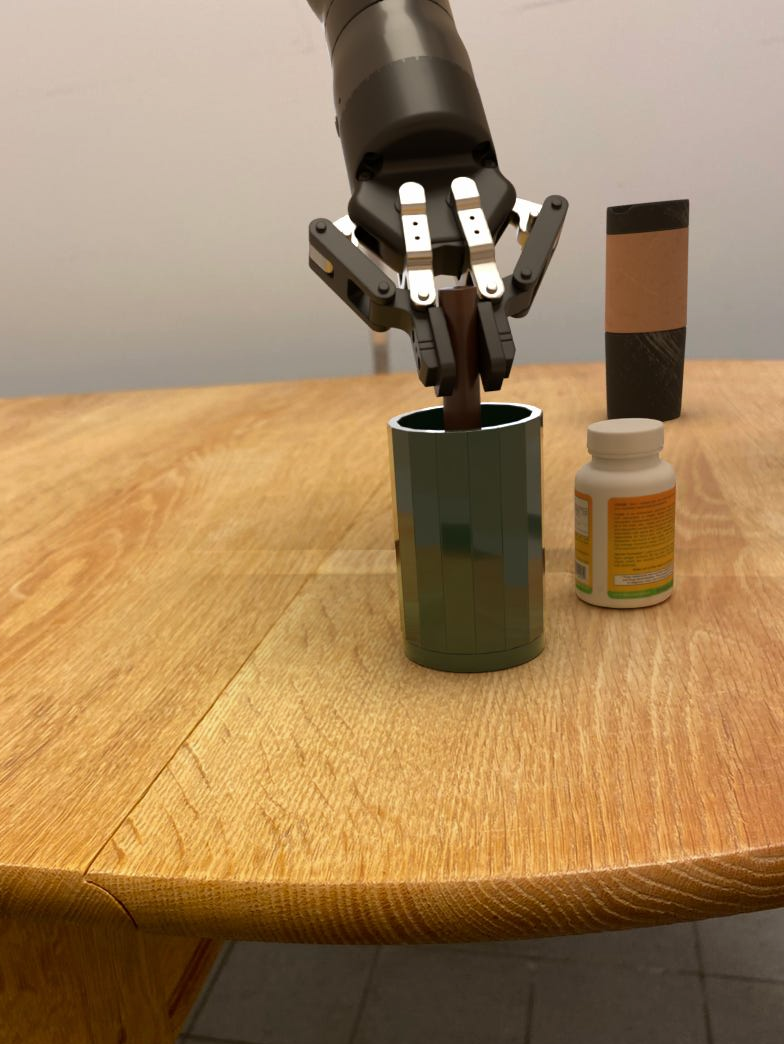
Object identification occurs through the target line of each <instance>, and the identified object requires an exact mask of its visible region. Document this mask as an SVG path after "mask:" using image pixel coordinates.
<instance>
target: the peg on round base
mask: <svg viewBox="0 0 784 1044" xmlns="http://www.w3.org/2000/svg"><path fill="white" fill-rule="evenodd" d="M437 303H438V306H437V307H442V309H443V311H444V315H445V320H446V324H447V328H448V333H449V337H450V341H451V346H452V350H453V354H454V359H455V363H456V379H455V384H454V389H453V394H452V396H445V397H442V406H443V413H444V431H446V430H468V429H477V428H482V427H481V403H482V402H481V401H482V400H481V377H480V373H479V347H478V316H477V287H476V286H456V285H454V286H448V287H442V288H439V289H438V290H437Z"/></svg>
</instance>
